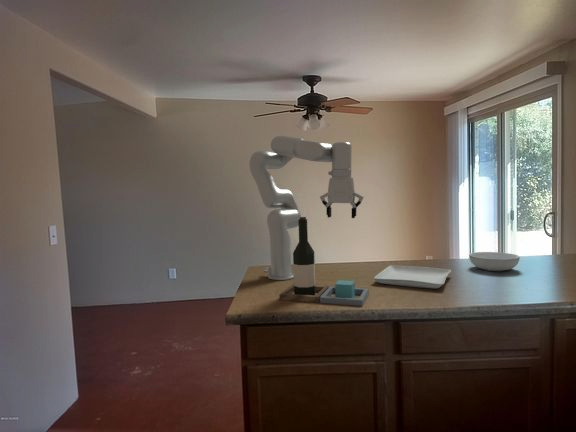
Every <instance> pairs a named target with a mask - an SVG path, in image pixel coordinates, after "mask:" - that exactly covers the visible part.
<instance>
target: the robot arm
mask: <svg viewBox="0 0 576 432" xmlns="http://www.w3.org/2000/svg"><path fill="white" fill-rule="evenodd" d="M294 158H296V159H301V160H304V161H309V162H317V163H318V162H320V163H331V171H328V175H329V176H331V177H329V181H328V186H327V192H326V193H324V194H323V195H320V196H319V198H320V200H321V202H322V204H323V205H324V207H325V208H326V212H325V213H326V216H327V218H328V219H329V218H332V205H333V204H350V206H351V207H352V208H351V219H355V217H356V216H357V208H358V207H359V206H360V205H361V204H362V202H363V200H364V196H363V195H361V194H359V193H357V192H355V191H356V190H355V183H354V177H352V144H351V143H350V142H348V141H347V142H346V141H338V142H334V143H327V142H319V141H310V140H305V139H304V138H301V137H294V136H286V135H277V136H275V137H273V138H272V139H271V141H270V150H257V151H255V152H254V151H253V153H252V154H251V156H250V158H249V165H248V167H249V172H250V174H251V176H252V178H253V180H254V182H255V183H256V187H257V189H258V192H259V194H260V197H261V200H262V204H263V205H264V206H265V207H266V208H267V209H273V210H271V211H270V212H269V213H268V214H267V217H266V224H267V228H268V233H269V246H270V247H269V252H270V253H269V254H270V267H263V269H262V270H263V272H264V273H268V275H267V278H268V279H269V280H273V281H286V280H292V279H294V272H292V250H291V246H292V245H291V244H292V243H291V236H290V234H289V232H288V229H295V228H297V227H299V223H298V220H299V219H300V217H302V215H301V212H300V209H299V206H298V204H297V201H296V199H295V196H294V194H293V192H292V191H291V190H290V189H288V188H285V187H278V186H277V184H276V181H275V179H274V177H273V176H272V174H271V173H270V172H269V170H279V169H282V168H284V167H285V166H286V165H287V164H288V163H289V162H291V161H292V159H294ZM355 197H356V198H357V199H358V200H357V201H356V202H355ZM326 198H327V200H326Z"/></svg>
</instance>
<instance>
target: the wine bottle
mask: <svg viewBox="0 0 576 432" xmlns="http://www.w3.org/2000/svg"><path fill="white" fill-rule="evenodd" d="M298 223H299V226H298V242H297V245H296V246H295V249H294V251H293V253H292V259H293V260H292V261H293V263H292V265H293V266H292V267H293V273H294V278H293V284H294V292H293V294H299V295H313V296H316V292H315V286H316V270H315V269H316V267H315V266H316V265H315V260H316V259H315V251H314V249H313V247H312V245H311V244H310V242H309V240H308V238H309V237H308V236H309V235H308V219H307V216H301V217H300V219H299V220H298Z"/></svg>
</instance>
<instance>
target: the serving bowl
mask: <svg viewBox="0 0 576 432" xmlns="http://www.w3.org/2000/svg"><path fill="white" fill-rule="evenodd" d="M468 257H469V260H470V262H471V264H472V265H474V267H475V268H479V269H481V270H484V271H488V272H504V271H507V270H511V269H515V267H516V266H517V265H518V264H519V261H520V258H521V257H520V255H518V254H516V253H515V254H514V253H508V252H498V251H495V252H493V251H478V252H476V251H475V252H471V253H469V254H468Z"/></svg>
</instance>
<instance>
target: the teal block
mask: <svg viewBox="0 0 576 432" xmlns="http://www.w3.org/2000/svg"><path fill="white" fill-rule="evenodd" d="M334 287H335V293H334V295H335V296H334V297H341V298H356V297H355V296H356V294H355V288H356V282H355V280H346V279H345V280H342V279H339V280H337V282H336V283H334Z"/></svg>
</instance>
